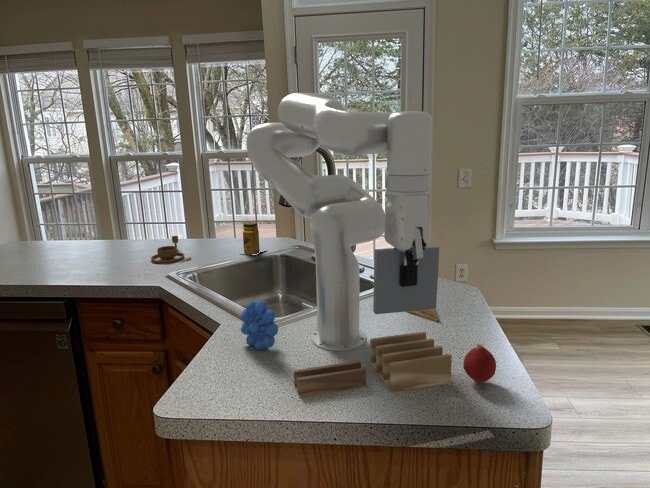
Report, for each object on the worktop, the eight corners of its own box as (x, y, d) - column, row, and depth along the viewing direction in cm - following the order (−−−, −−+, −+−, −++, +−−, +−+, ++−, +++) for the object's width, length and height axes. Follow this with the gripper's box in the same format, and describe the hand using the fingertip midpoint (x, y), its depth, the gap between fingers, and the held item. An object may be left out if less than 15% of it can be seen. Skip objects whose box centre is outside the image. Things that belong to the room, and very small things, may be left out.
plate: (373, 311, 86) (374, 249, 84) (432, 306, 89) (436, 245, 86) (375, 314, 85) (377, 251, 82) (436, 308, 88) (439, 247, 85)
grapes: (292, 351, 101) (290, 300, 98) (269, 363, 96) (266, 309, 93) (258, 336, 109) (255, 288, 106) (235, 346, 104) (231, 296, 101)
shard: (438, 324, 115) (438, 317, 115) (407, 323, 116) (407, 316, 115) (431, 307, 126) (432, 301, 125) (403, 307, 126) (403, 300, 126)
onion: (487, 374, 91) (490, 336, 89) (499, 390, 85) (503, 350, 83) (458, 375, 91) (460, 337, 89) (468, 391, 85) (471, 351, 83)
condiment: (239, 254, 179) (237, 224, 176) (252, 249, 186) (250, 220, 183) (254, 256, 176) (253, 225, 173) (267, 251, 183) (266, 221, 180)
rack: (369, 364, 95) (369, 337, 94) (422, 356, 98) (423, 330, 97) (392, 396, 84) (392, 366, 82) (451, 386, 87) (453, 357, 85)
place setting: (138, 262, 172) (136, 247, 171) (174, 249, 190) (173, 235, 189) (175, 267, 166) (173, 251, 164) (209, 253, 183) (208, 238, 182)
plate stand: (292, 384, 88) (292, 367, 87) (357, 374, 92) (357, 357, 91) (299, 401, 83) (298, 383, 82) (368, 390, 86) (368, 372, 85)
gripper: (373, 180, 88) (373, 273, 92) (405, 190, 73) (402, 300, 78) (410, 179, 90) (408, 270, 94) (448, 188, 75) (444, 296, 79)
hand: (406, 283), depth 86 cm, fingers closed on plate, 1 cm apart
